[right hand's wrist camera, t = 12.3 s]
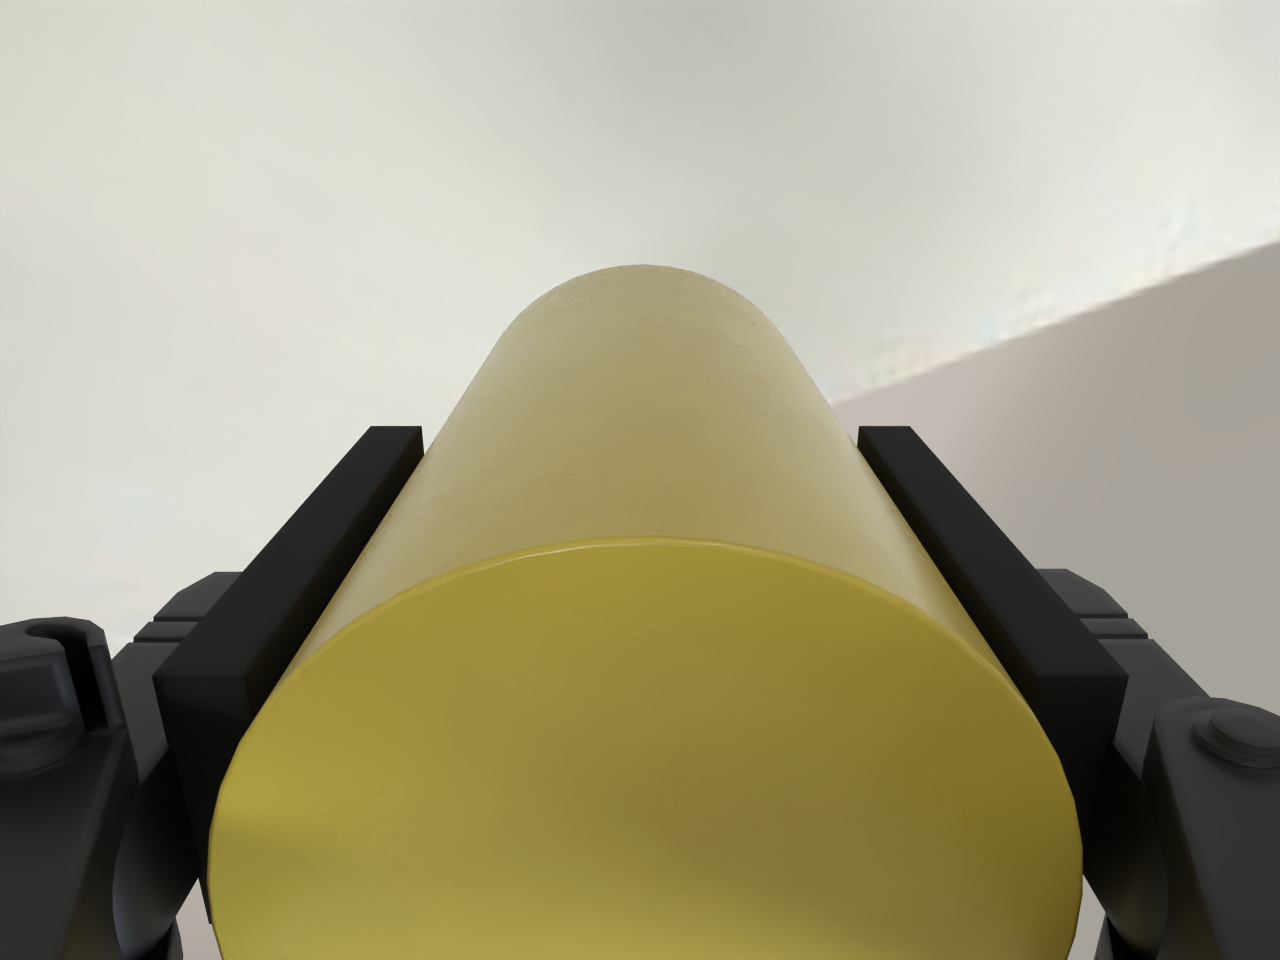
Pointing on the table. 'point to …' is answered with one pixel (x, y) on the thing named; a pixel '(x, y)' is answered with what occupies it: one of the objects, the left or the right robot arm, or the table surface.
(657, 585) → the canister
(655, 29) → the table surface
